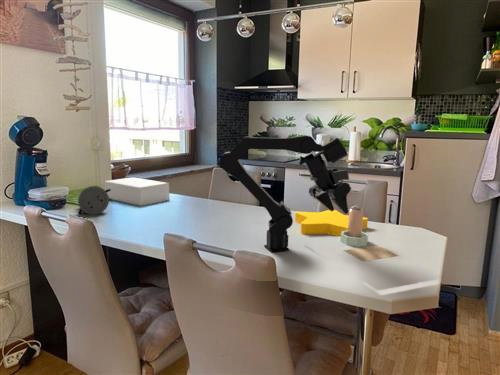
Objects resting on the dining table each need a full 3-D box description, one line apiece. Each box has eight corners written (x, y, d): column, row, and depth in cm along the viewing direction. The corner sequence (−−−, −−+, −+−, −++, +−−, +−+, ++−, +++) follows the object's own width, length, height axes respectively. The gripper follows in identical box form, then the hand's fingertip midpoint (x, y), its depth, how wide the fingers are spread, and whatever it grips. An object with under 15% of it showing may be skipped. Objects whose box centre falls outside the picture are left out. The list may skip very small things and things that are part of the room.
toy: (123, 204, 157) (112, 195, 183) (105, 179, 153) (97, 174, 179) (87, 227, 151) (81, 215, 177) (68, 203, 147) (65, 194, 173)
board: (362, 264, 109) (363, 261, 109) (342, 253, 118) (343, 250, 118) (398, 258, 114) (398, 255, 114) (376, 248, 124) (377, 245, 123)
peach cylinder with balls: (356, 245, 124) (359, 207, 121) (344, 242, 127) (346, 205, 125) (363, 242, 127) (366, 206, 125) (351, 239, 130) (354, 203, 128)
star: (344, 208, 164) (385, 225, 137) (344, 217, 165) (384, 236, 138) (283, 212, 156) (314, 231, 128) (283, 221, 157) (313, 243, 129)
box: (141, 206, 179) (140, 187, 178) (105, 198, 196) (104, 181, 195) (169, 200, 194) (169, 182, 193) (134, 193, 212) (133, 177, 210)
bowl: (351, 250, 121) (352, 239, 121) (335, 241, 130) (336, 231, 129) (372, 247, 125) (373, 236, 124) (356, 239, 133) (356, 229, 132)
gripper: (353, 157, 109) (375, 201, 112) (325, 160, 127) (344, 198, 130) (324, 174, 107) (347, 219, 109) (299, 175, 125) (319, 214, 127)
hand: (339, 211), depth 119 cm, fingers open, 9 cm apart
